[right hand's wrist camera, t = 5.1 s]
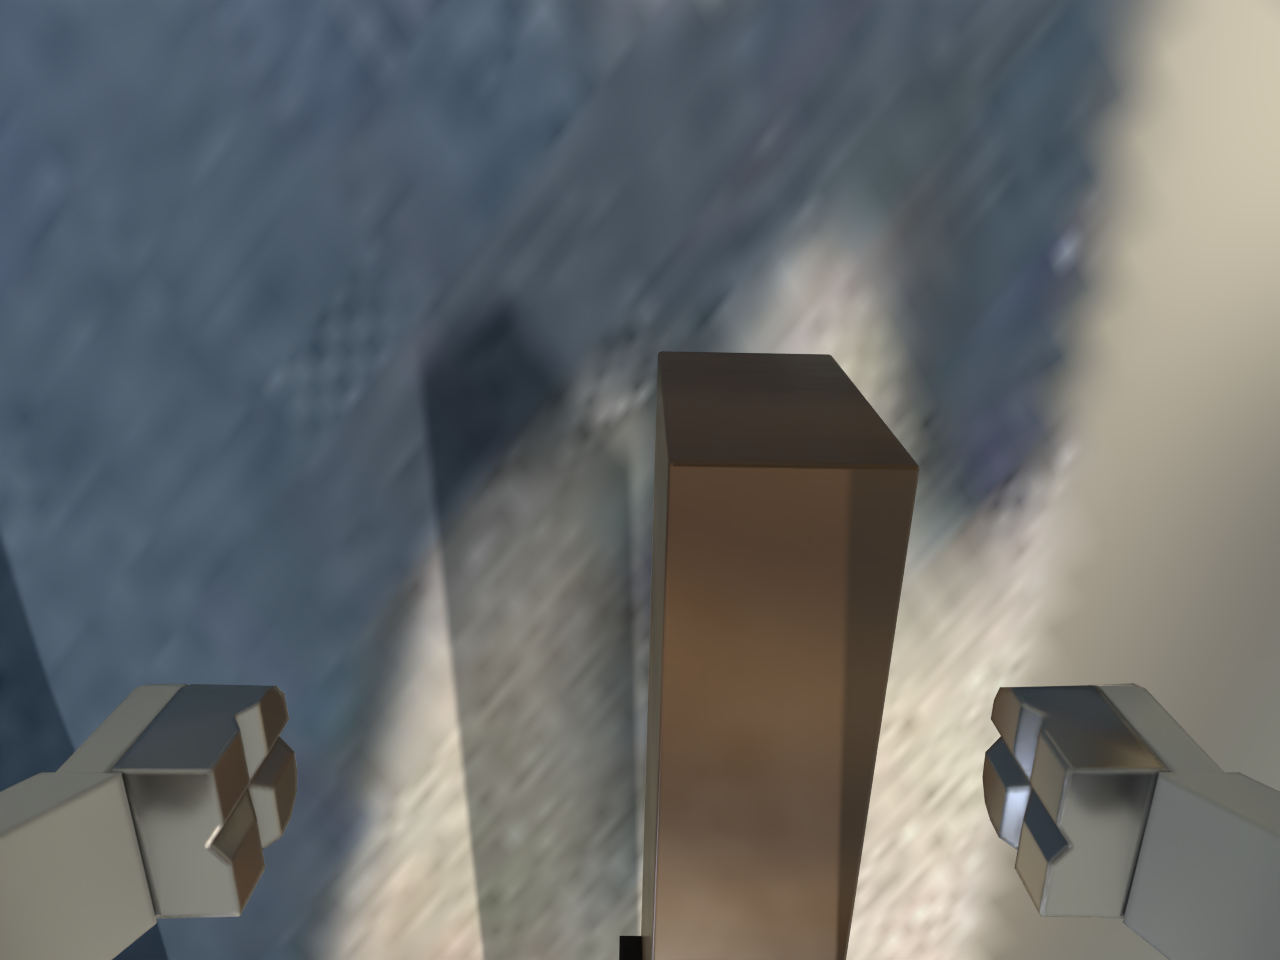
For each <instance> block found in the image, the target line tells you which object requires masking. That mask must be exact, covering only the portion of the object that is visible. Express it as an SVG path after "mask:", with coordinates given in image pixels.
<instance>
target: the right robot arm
mask: <svg viewBox="0 0 1280 960" xmlns="http://www.w3.org/2000/svg"><path fill="white" fill-rule="evenodd" d="M288 720H289V716H288V711H287V705H286V700H285V695H284V693H283V692H282V691H281V690H280V689H279V688H278V687H277V686H252V685H203V684H191V685H187V684H147V685H143V686H139V687H136V688H135V689H134V690H133V691H132V692H131V693H130V694H129V695H128V696H127V697H126V698H125V699H124V701H123V702H122V703H121V704H120V705H119V706H118V707H117V708H116V709H115V710H114V711H113V712H112V713H111V714H110V715H109V716H108V717H107V719H106V720H105V721H104V722H103V723H102V724H101V725H100V726H99V727H98V728H97V729H96V730H95V731H94V732H93V733H92V734H91V735H90V736H89V738H88V739H87V740H86V741H85V742H84V743H83V744H82V745H81V746H80V747H79V748H78V749H77V750H76V751H75V752H74V753H73V754H72V755H71V757H70V758H69V759H68V760H67V761H66V762H65V763H64V764H63V765H62V766H61V767H60V768H59V769H58V770H57V771H56V772H45V773H39V774H37V775H34V776H32V777H30V778H28V779H26V780H24V781H22V782H20V783H17V784H15V785H13V786H11V787H9V788H7V789H5V790H3V791H1V792H0V960H112V959H113V958H114V957H116V956H117V955H118V954H119V953H121V952H122V951H123V950H124V949H126V948H127V947H128V946H129V945H130V944H132V943H133V942H134V941H135V940H137V939H138V938H139V937H140V936H142V935H143V934H144V933H145V932H146V931H148V930H149V929H150V928H151V927H153V926H154V925H155V924H156V923H157V920H156V919H162V918H197V917H231V916H240V915H241V913H242V911H243V909H244V907H245V905H246V903H247V901H248V900H249V898H250V896H251V894H252V892H253V890H254V888H255V886H256V884H257V883H258V881H259V879H260V877H261V875H262V873H263V871H264V869H265V863H264V857H263V851H262V850H263V849H265V848H266V847H268V846H269V845H271V844H272V843H274V842H275V841H276V840H278V839H279V838H281V837H282V835H283V833H284V831H285V828H286V826H287V824H288V822H289V820H290V818H291V815H292V810H293V806H294V802H295V797H296V793H297V767H296V760H295V753H294V751H293V750H292V749H291V748H290V747H289V746H288V745H287V744H286V743H285V742H284V741H283V740H282V739H281V738H280V737H279V735H280V733H281V732H282V730H283V728H284V727H285V725H286V723H287V722H288ZM991 720H992V722H993V723H994V725H995V727H996V728H997V730H998V732H999V733H1000V735H1001V737H1000V738H999V739H998V740H997V741H996V742H995V743H994V744H993V745H992V746H991V747H990V748H989V749H988V750H987V751H986V753H985V761H984V770H983V787H984V798H985V804H986V807H987V811H988V814H989V817H990V820H991V822H992V824H993V826H994V828H995V831H996V833H997V835H998V837H999V838H1001V839H1002V840H1004V841H1005V842H1006V843H1008V844H1009V845H1011V846H1012V847H1014V848H1015V849H1017V850H1018V852H1017V858H1016V864H1015V869H1016V871H1017V873H1018V875H1019V877H1020V879H1021V881H1022V882H1023V884H1024V886H1025V888H1026V890H1027V892H1028V894H1029V896H1030V897H1031V899H1032V901H1033V903H1034V905H1035V907H1036V909H1037V911H1038V913H1039V914H1040V916H1046V917H1082V918H1118V919H1124V920H1123V923H1124V924H1125V925H1127V926H1128V927H1129V928H1130V929H1132V930H1133V931H1134V932H1135V933H1137V934H1138V935H1139V936H1140V937H1141V938H1143V939H1144V940H1145V941H1146V942H1148V943H1149V944H1150V945H1151V946H1152V947H1154V948H1155V949H1156V950H1157V951H1159V952H1160V953H1161V954H1162V955H1164V956H1165V957H1166V958H1167V959H1168V960H1280V792H1279V791H1277V790H1275V789H1273V788H1271V787H1269V786H1267V785H1265V784H1262V783H1260V782H1258V781H1256V780H1254V779H1252V778H1250V777H1248V776H1246V775H1244V774H1241V773H1235V772H1224V771H1223V770H1222V769H1221V768H1220V767H1219V766H1218V765H1217V764H1216V763H1215V762H1214V761H1213V760H1212V759H1211V757H1210V756H1209V755H1208V754H1207V753H1206V752H1205V751H1204V750H1203V749H1202V748H1201V747H1200V746H1199V745H1198V744H1197V743H1196V742H1195V741H1194V739H1193V738H1192V737H1191V736H1190V735H1189V734H1188V733H1187V732H1186V731H1185V730H1184V729H1183V728H1182V727H1181V726H1180V725H1179V724H1178V723H1177V722H1176V720H1175V719H1174V718H1173V717H1172V716H1171V715H1170V714H1169V713H1168V712H1167V711H1166V710H1165V709H1164V708H1163V707H1162V706H1161V705H1160V704H1159V702H1158V701H1157V700H1156V699H1155V698H1154V697H1153V696H1152V695H1151V694H1150V693H1149V692H1148V691H1147V690H1146V689H1145V688H1143V687H1141V686H1139V685H1136V684H1134V683H1130V684H1103V685H1087V686H1043V687H1000V689H999V691H998V693H997V695H996V697H995V699H994V704H993V710H992V715H991Z"/></svg>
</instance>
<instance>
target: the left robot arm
mask: <svg viewBox="0 0 1280 960" xmlns="http://www.w3.org/2000/svg"><path fill="white" fill-rule="evenodd" d="M619 960H642V936H620V950H619Z"/></svg>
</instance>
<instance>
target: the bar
mask: <svg viewBox="0 0 1280 960" xmlns="http://www.w3.org/2000/svg"><path fill="white" fill-rule="evenodd" d="M918 475H919V466H918V465H917V463H916V462H915V461H914V460H913V458H912V457H911V456H910V454H909V453H908V452H907V451H906V449H905V448H904V447H903V446H902V444H901V443H900V442H899V441H898V439H897V438H896V437H895V436H894V434H893V433H892V432H891V430H890V429H889V428H888V427H887V425H886V424H885V423H884V422H883V420H882V419H881V418H880V417H879V415H878V414H877V413H876V411H875V410H874V409H873V408H872V406H871V405H870V404H869V403H868V401H867V400H866V399H865V398H864V396H863V395H862V394H861V393H860V391H859V390H858V389H857V387H856V386H855V385H854V384H853V382H852V381H851V380H850V379H849V377H848V376H847V375H846V374H845V372H844V371H843V370H842V368H841V367H840V366H839V365H838V363H837V362H836V361H835V360H834V358H833V357H832V356H831V355H821V354H768V353H715V352H659V354H658V369H657V403H656V438H655V473H654V507H653V542H652V576H651V611H650V645H649V680H648V714H647V749H646V783H645V818H644V852H643V887H642V922H641V936H642V960H846V956H847V949H848V942H849V935H850V929H851V922H852V915H853V909H854V902H855V895H856V889H857V882H858V875H859V869H860V862H861V855H862V849H863V842H864V835H865V829H866V822H867V815H868V809H869V802H870V795H871V789H872V782H873V775H874V769H875V762H876V755H877V748H878V742H879V735H880V728H881V722H882V715H883V708H884V702H885V695H886V688H887V682H888V675H889V668H890V662H891V655H892V648H893V642H894V635H895V628H896V622H897V615H898V608H899V602H900V595H901V588H902V582H903V575H904V568H905V561H906V555H907V548H908V541H909V535H910V528H911V521H912V515H913V508H914V501H915V495H916V488H917V481H918Z"/></svg>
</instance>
